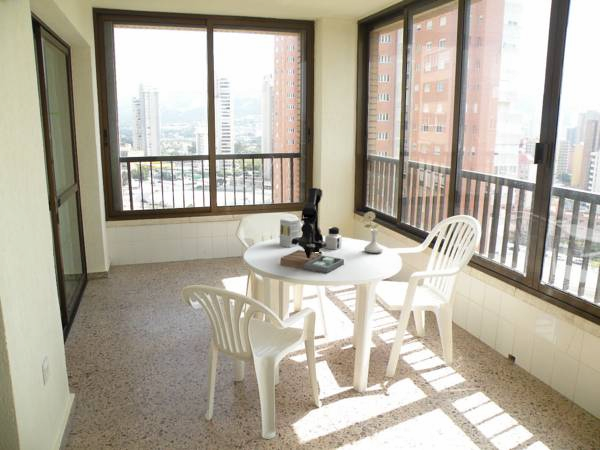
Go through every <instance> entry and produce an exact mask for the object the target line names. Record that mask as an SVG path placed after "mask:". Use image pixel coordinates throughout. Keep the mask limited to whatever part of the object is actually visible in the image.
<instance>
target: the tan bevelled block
mask: <svg viewBox="0 0 600 450" xmlns="http://www.w3.org/2000/svg"><path fill="white" fill-rule="evenodd" d="M319 256H323V255H322V253H314V252H312V254H311V256H310V258H309V259H308V258H307V256H306V253H305V250H302V249H301V250H300V249H297V250H295V251H293V252H291V253H288V254H286V255H284V256H281V257H280V266H283V267H284V266H285V267H290V268H294V269H295V268H296V269H301V270H305V269H304V264H305V263H307V262H309V261H311V260H313V259H315V258H317V257H319Z"/></svg>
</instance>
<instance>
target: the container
mask: <svg viewBox="0 0 600 450" xmlns="http://www.w3.org/2000/svg"><path fill="white" fill-rule="evenodd" d="M327 231H328V233H327V235H325V237H324V242H326V247H324V249H328V250H331V251H332V250H334V251H337V250H339V249H341V248H342V238H343V237H342V235H339V234H340V228H339V227H337V226H331V227H328V230H327Z"/></svg>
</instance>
